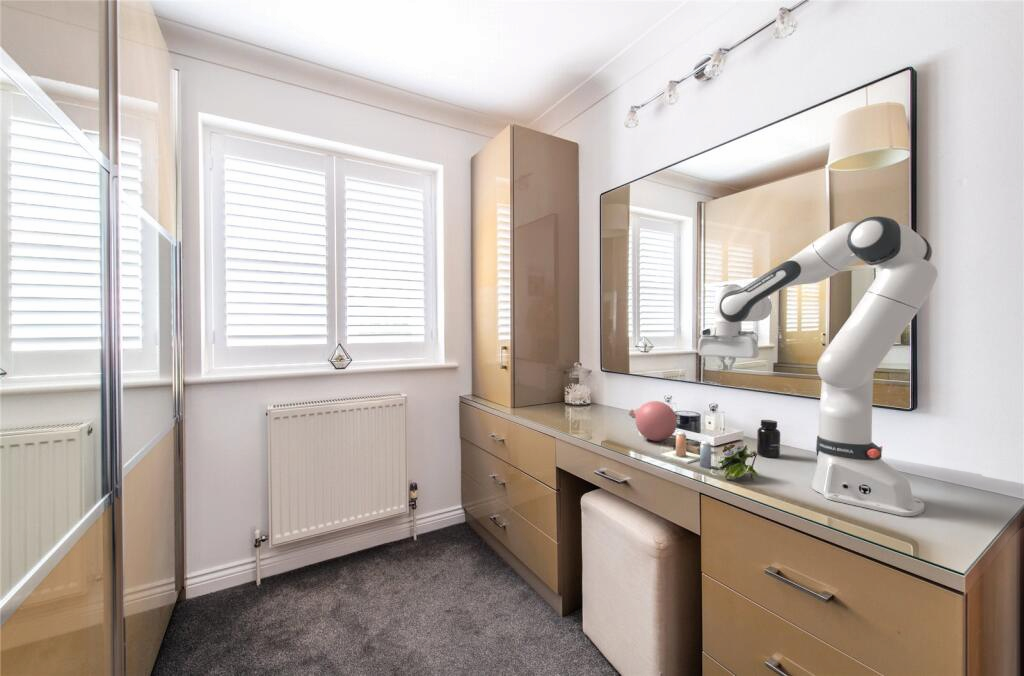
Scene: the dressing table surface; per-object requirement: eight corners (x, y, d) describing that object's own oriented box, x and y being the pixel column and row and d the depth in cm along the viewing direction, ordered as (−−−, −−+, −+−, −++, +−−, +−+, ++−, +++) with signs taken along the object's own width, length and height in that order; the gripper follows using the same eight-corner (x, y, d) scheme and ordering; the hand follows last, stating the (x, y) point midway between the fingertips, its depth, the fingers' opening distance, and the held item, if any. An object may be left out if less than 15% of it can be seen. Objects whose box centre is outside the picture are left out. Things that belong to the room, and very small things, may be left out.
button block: (710, 451, 150) (710, 444, 150) (697, 455, 145) (697, 448, 145) (689, 446, 157) (689, 440, 157) (677, 450, 152) (677, 443, 152)
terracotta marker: (687, 455, 143) (688, 432, 142) (682, 457, 141) (682, 434, 141) (679, 453, 145) (679, 431, 145) (673, 455, 143) (674, 432, 143)
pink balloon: (640, 431, 180) (640, 395, 179) (684, 441, 164) (684, 401, 164) (617, 437, 170) (618, 399, 170) (662, 448, 155) (662, 406, 154)
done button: (701, 450, 151) (701, 442, 151) (695, 452, 149) (695, 443, 148) (691, 448, 154) (691, 440, 153) (686, 449, 151) (686, 441, 151)
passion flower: (728, 490, 128) (734, 453, 133) (765, 495, 119) (770, 455, 125) (707, 474, 124) (714, 437, 129) (745, 478, 115) (751, 437, 120)
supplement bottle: (776, 459, 141) (776, 424, 140) (753, 455, 146) (754, 420, 146) (782, 455, 145) (783, 421, 145) (761, 451, 150) (761, 417, 150)
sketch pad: (704, 458, 142) (704, 456, 142) (687, 463, 137) (687, 461, 137) (677, 451, 151) (677, 449, 151) (660, 455, 145) (660, 453, 145)
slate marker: (713, 466, 133) (713, 442, 133) (707, 468, 132) (707, 443, 131) (703, 464, 136) (703, 440, 136) (697, 466, 134) (698, 441, 134)
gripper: (762, 331, 143) (762, 371, 143) (705, 331, 160) (704, 367, 160) (753, 331, 139) (752, 372, 140) (695, 331, 156) (695, 368, 156)
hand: (726, 369), depth 150 cm, fingers closed
